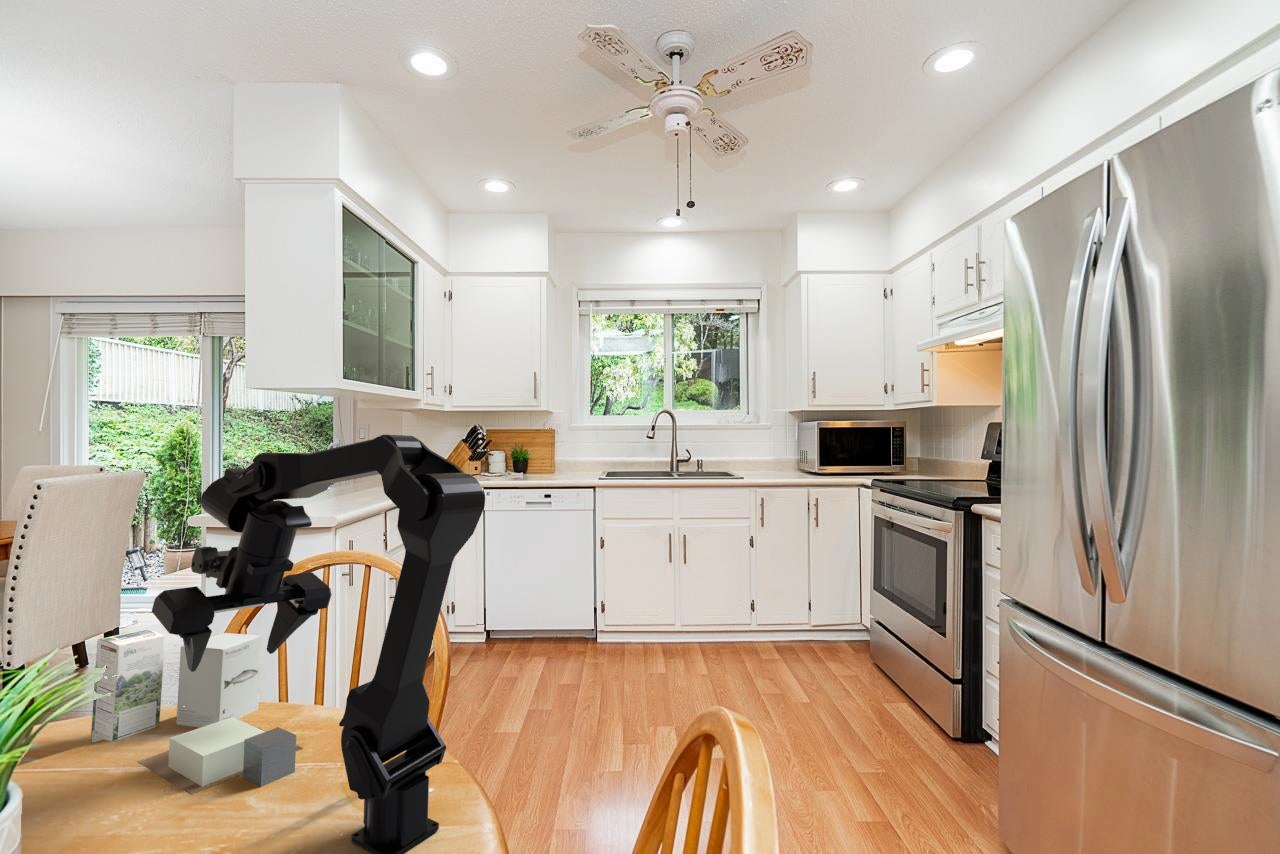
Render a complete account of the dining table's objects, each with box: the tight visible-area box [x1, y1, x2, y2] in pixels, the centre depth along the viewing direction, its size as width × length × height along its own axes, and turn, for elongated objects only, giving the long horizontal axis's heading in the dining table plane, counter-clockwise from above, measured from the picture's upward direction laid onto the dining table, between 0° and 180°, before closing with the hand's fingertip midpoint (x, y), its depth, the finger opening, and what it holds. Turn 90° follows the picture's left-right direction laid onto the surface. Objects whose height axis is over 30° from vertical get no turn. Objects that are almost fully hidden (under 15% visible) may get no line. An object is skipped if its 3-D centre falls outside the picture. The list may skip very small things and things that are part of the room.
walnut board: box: [137, 722, 304, 795], centre depth 79 cm, size 14×13×2 cm
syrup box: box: [90, 629, 166, 744], centre depth 86 cm, size 6×6×14 cm
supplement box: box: [175, 632, 262, 728], centre depth 90 cm, size 7×7×13 cm
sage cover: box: [168, 717, 266, 787], centre depth 76 cm, size 8×7×4 cm
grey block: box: [242, 726, 297, 788], centre depth 74 cm, size 4×4×6 cm
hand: (232, 660), depth 78 cm, fingers open, 9 cm apart
